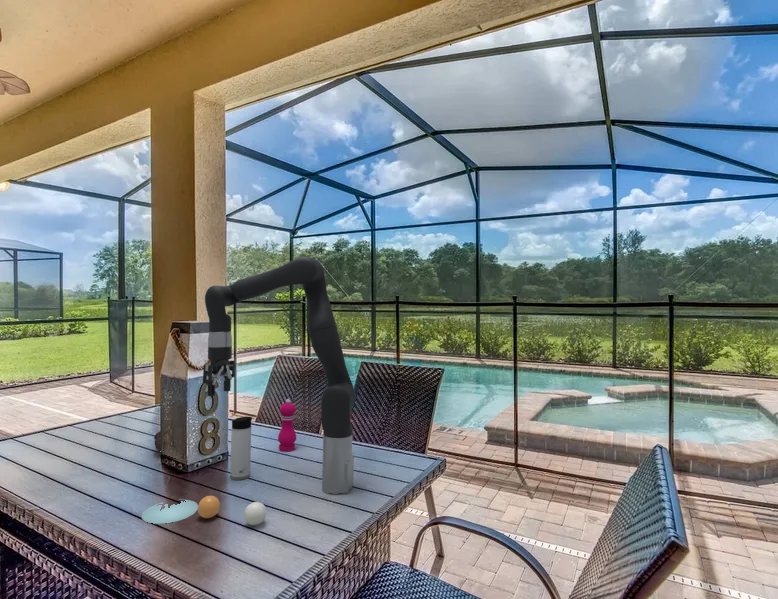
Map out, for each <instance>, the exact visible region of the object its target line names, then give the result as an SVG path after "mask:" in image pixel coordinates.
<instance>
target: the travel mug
mask: <svg viewBox="0 0 778 599" xmlns="http://www.w3.org/2000/svg"><path fill="white" fill-rule="evenodd" d="M252 420H253V417H252V416H241V417H237V418H235V419H232V420H231V441H230V442H231V443H230V445H231V446H230V476H229V477H230V479H231V480H233V481H244V480H246V479H248V478H250V476H251V450H252Z"/></svg>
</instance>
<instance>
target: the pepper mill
mask: <svg viewBox="0 0 778 599" xmlns="http://www.w3.org/2000/svg"><path fill="white" fill-rule="evenodd" d="M279 410H280V411H279V412H280V414H281V417H280V418H281V421H282V424H281V428H280V431H279V433H278V436H277V442H279V444H278V451H281V452H284V451H288V452H292V450H293V451H294V450H295V448H296V444H295V443H296V441H297V433H296V431H295V429H294V419H295V415H294V414H295V412H296V406H295V404H293V403H292V402H291V399H289V398H287V399H286V400H285V403H283V404H282V405H281V406H280V409H279Z"/></svg>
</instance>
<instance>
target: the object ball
mask: <svg viewBox="0 0 778 599" xmlns="http://www.w3.org/2000/svg"><path fill="white" fill-rule="evenodd" d="M197 505H198V510H197V512H198V514H199V516H200V517H202V518H203V519H211V518H214V517H215V516H216V515H217V514H218V513H219V511H220V508H221V507H220V506H221V503H220V500H219V499H218V497H217V496H214V495H206V496H204V497H203V498H201V500H200V501H199V503H197Z"/></svg>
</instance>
